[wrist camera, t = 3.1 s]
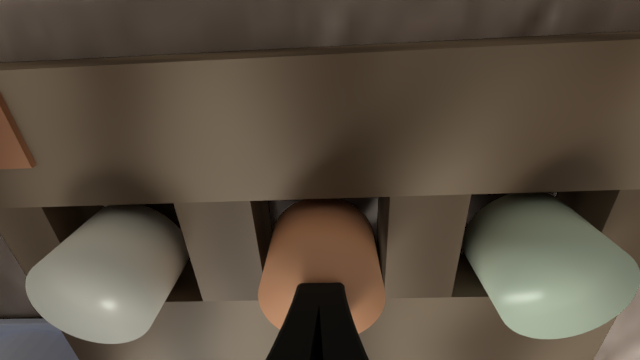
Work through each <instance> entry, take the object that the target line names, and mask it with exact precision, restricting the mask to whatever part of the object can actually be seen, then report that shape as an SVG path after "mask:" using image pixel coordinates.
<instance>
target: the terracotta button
mask: <svg viewBox="0 0 640 360" xmlns="http://www.w3.org/2000/svg"><path fill="white" fill-rule="evenodd" d="M336 282H341V283H342V284H343V285H344V286H345V293H346V297H347V301H348V305H349V308H350V312H351V315H352V318H353V321H354V324H355V327H356V329H357V332H358V334H359V333H361V332H363V331H365V330H366V329H367V328H369V327H370V326H371V325H372V324H373V323H374V322H375V321H376V320H377V319H378V318H379V316H380V314H381V313H382V311H383V308H384V305H385V289H384V284H383V280H382V275H381V270H380V265H379V260H378V255H377V250H376V245H375V241H374V236H373V231H372V227H371V225H370V223H369V221H368V219H367V218H366V216H365V215H364V214H363V213H362V212H361V211H360V210H359V209H358V208H356V207H355V206H353V205H351V204H350V203H348V202H345V201H343V200H339V199H336V198H330V199H305V200H302V201H300V202H297V203H295V204H294V205H292V206H290V207H289V208H288V209H286V210H285V211H284V212H283V213H282V214H281V216H280V217H279V218H278V220H277V222H276V224H275V227H274V230H273V234H272V238H271V242H270V246H269V250H268V254H267V258H266V262H265V266H264V270H263V274H262V277H261V281H260V285H259V289H258V300H259V304H260V307H261V310H262V312H263V313H264V315H265V316H266V318H267V319H268V320H269V321H270V322H271V323H272V324H273V325H274V326H275V327H277V328H278V329H281V327H282V325H283V322H284V320H285V318H286V315H287V313H288V311H289V308H290V306H291V303H292V300H293V297H294V294H295V291H296V288H297V286H298V285H299V284H300V283H336Z"/></svg>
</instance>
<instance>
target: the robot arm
mask: <svg viewBox="0 0 640 360" xmlns="http://www.w3.org/2000/svg"><path fill="white" fill-rule="evenodd" d="M0 360H79V359H78V357H77V356H76V354H75V352H74V351H73V349H72V348H71V346H70V344H69V343H68V341H67V340H66V338H65V336H64V335H63V333H62V332H61V330H60V329H58V328H56V327H55V326H53V325H52V324H50V323H49V322H48V321H46V320H45V319H44V318H43V319H0ZM265 360H369V359H368V356H367V354H366V352H365V349H364V347H363V344H362V342H361V339H360V337H359V334H358V332H357V329H356V327H355V324H354V321H353V318H352V315H351V312H350V308H349V305H348V301H347V297H346V293H345V286H344V285H343V284H342V283H341V282H336V283H300V284H299V285H298V286H297V288H296V291H295V294H294V297H293V300H292V303H291V306H290V308H289V311H288V313H287V315H286V318H285V320H284V322H283V325H282V327H281V329H280V331H279V333H278V335H277V337H276V340H275V342H274V344H273V346H272V348H271V350H270V352H269V354H268V356H267V358H266V359H265Z"/></svg>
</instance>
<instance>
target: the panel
mask: <svg viewBox="0 0 640 360" xmlns="http://www.w3.org/2000/svg"><path fill="white" fill-rule="evenodd" d="M533 192H558V194H557V198H558V199H560V200H561V201H562V202H564V203H565V204H566V205H567V206H569V207H570V208H571V209H572V210H574V211H575V212H576V213H577V214H579V215H580V216H581V217H582V218H584V219H585V220H586V221H587V222H589V223H590V224H591V225H592V226H594V227H595V228H596V229H598V230H599V231H600V232H601V233H603V234H604V235H605V236H606V237H608V238H609V239H610V240H611V241H613V242H614V243H615V244H616V245H618V246H619V247H620V248H621V249H623V250H624V251H625V252H626V253H628V254H629V255H630V256H631V257H632V258H633V259H634V260H635V262H636V263H637V265H638V267H639V270H640V31H629V32H609V33H589V34H569V35H549V36H529V37H509V38H489V39H469V40H449V41H429V42H409V43H389V44H369V45H349V46H329V47H309V48H289V49H269V50H249V51H228V52H208V53H188V54H168V55H148V56H128V57H108V58H88V59H68V60H48V61H28V62H8V63H0V234H1V236H2V237H3V239H4V240H5V242H6V244H7V245H8V247H9V248H10V250H11V252H12V253H13V255H14V256H15V258H16V260H17V261H18V263H19V264H20V266H21V268H22V269H23V271H24V272H25V274H26V276H27V275H28V273H29V271H30V270H31V269H32V267H34V266H35V265H36V264H37V263H38V262H39V261H41V260H42V259H43V258H44V257H45V256H46V255H48V254H49V253H50V252H51V251H52V250H54V249H55V248H56V247H57V246H58V245H59V244H61V243H62V242H63V241H64V240H65V239H66V238H68V237H69V236H70V235H71V234H72V233H73V232H75V231H76V230H77V229H78V228H79V227H81V226H82V225H83V224H84V223H85V222H86V221H88V220H89V219H90V218H91V217H92V216H93V215H95V214H96V213H97V212H98V211H99V210H101V209H102V207H101V205H128V204H162V203H174V207H175V210H176V213H177V217H178V220H179V223H180V227H181V230H182V233H183V236H184V240H185V243H186V246H187V250H188V253H189V256H190V260H191V261H187V264H186V266H185V267H184V269H183V271H182V273H181V274H180V276H179V278H178V280H177V281H176V283H175V285H174V287H173V288H172V290H171V292H170V294H169V295H168V297H167V299H166V301H165V302H164V304H163V306H162V308H161V309H160V311H159V313H158V315H157V316H156V318H155V320H154V322H153V323H152V325H151V327H150V329H149V330H148V331H147V332H146V333H145V334H144V335H143V336H141V337H139V338H138V339H135V340H133V341H130V342H126V343H120V344H103V343H96V342H90V341H86V340H83V339H80V338H77V337H74V336H72V335H70V334H67V333H65V332H63V331H61V332H62V333H63V335H64V336H65V338H66V340H67V341H68V343H69V344H70V346H71V348H72V349H73V351H74V352H75V354H76V356H77V357H78V359H79V360H265V359H266V358H267V356H268V354H269V352H270V350H271V348H272V346H273V344H274V342H275V340H276V337H277V335H278V333H279V331H280V329H278V328H277V327H275V326H274V325H273V324H272V323H271V322H270V321H269V320H268V319H267V318H266V316H265V315H264V313H263V312H262V310H261V307H260V304H259V300H258V289H259V285H260V281H261V277H262V274H263V270H264V266H265V262H266V258H267V254H268V250H269V246H270V242H271V238H272V228H271V221H270V214H269V207H268V200H297V199H330V198H364V197H378V218H377V242H376V250H377V255H378V260H379V265H380V270H381V275H382V280H383V284H384V289H385V305H384V308H383V311H382V313H381V314H380V316H379V318H378V319H377V320H376V321H375V322H374V323H373V324H372V325H371V326H370V327H369V328H367V329H366V330H365V331H363V332H361V333H359V337H360V339H361V342H362V344H363V347H364V349H365V352H366V354H367V356H368V359H369V360H593V359H594V357H595V356H596V354H597V352H598V350H599V348H600V346H601V345H602V343H603V341H604V339H605V337H606V335H607V334H608V332H609V330H610V328H611V326H612V325H613V323H614V321H615V319H616V317H617V316H616V317H614V318H613V319H611V320H610V321H608V322H607V323H605V324H603V325H601V326H600V327H598V328H595V329H593V330H591V331H588V332H585V333H583V334H579V335H576V336H572V337H567V338H560V339H536V338H530V337H526V336H523V335H520V334H518V333H516V332H514V331H513V330H511V329H510V328H509V327H508V326H507V325H506V324H505V323H504V322H503V320H502V319H501V317H500V315H499V313H498V312H497V310H496V308H495V306H494V305H493V303H492V301H491V299H490V298H489V296H488V294H487V292H486V291H485V289H484V287H483V285H482V284H481V282H480V280H479V278H478V277H477V275H476V273H475V271H474V270H473V268H472V266H471V264H470V263H469V261H468V259H467V257H466V255H460V250H461V245H462V240H463V235H464V230H465V225H466V220H467V215H468V209H469V204H470V199H471V194H499V193H533Z"/></svg>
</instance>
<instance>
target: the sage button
mask: <svg viewBox="0 0 640 360" xmlns="http://www.w3.org/2000/svg"><path fill="white" fill-rule="evenodd" d="M463 249H464V253H465V255H466V257H467V259H468V261H469V263H470V264H471V266H472V268H473V270H474V271H475V273H476V275H477V277H478V278H479V280H480V282H481V284H482V285H483V287H484V289H485V291H486V292H487V294H488V296H489V298H490V299H491V301H492V303H493V305H494V306H495V308H496V310H497V312H498V313H499V315H500V317H501V319H502V320H503V322H504V323H505V324H506V325H507V326H508V327H509V328H510V329H511V330H513V331H514V332H516V333H518V334H520V335H523V336H526V337H530V338H536V339H560V338H567V337H572V336H576V335H579V334H583V333H585V332H588V331H591V330H593V329H595V328H598V327H600V326H601V325H603V324H605V323H607V322H608V321H610V320H611V319H613V318H614V317H616V316H617V315H618V314H619V313H621V312H622V311H623V310H624V309H625V308H626V307H627V306H628V305H629V303H630V302H631V301H632V299H633V298H634V296H635V295H636V292H637V290H638V288H639V284H640V270H639V267H638V265H637V263H636V262H635V260H634V259H633V258H632V257H631V256H630V255H629V254H628V253H626V252H625V251H624V250H623V249H621V248H620V247H619V246H618V245H616V244H615V243H614V242H613V241H611V240H610V239H609V238H608V237H606V236H605V235H604V234H603V233H601V232H600V231H599V230H598V229H596V228H595V227H594V226H592V225H591V224H590V223H589V222H587V221H586V220H585V219H584V218H582V217H581V216H580V215H579V214H577V213H576V212H575V211H574V210H572V209H571V208H570V207H569V206H567V205H566V204H565V203H564V202H562V201H561V200H560V199H558V198H557V197H555V196H553V195H551V194H548V193H544V192H533V193H512V194H508V195H505V196H503V197H500V198H498V199H496V200H494V201H492V202H491V203H489V204H487V205H486V206H485V207H483V208H482V209H481V210H480V211H479V212H478V213H477V214H476V215H475V216H474V217H473V218H472V220H471V221H470V222H469V224H468V226H467V228H466V230H465V233H464V236H463Z"/></svg>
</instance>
